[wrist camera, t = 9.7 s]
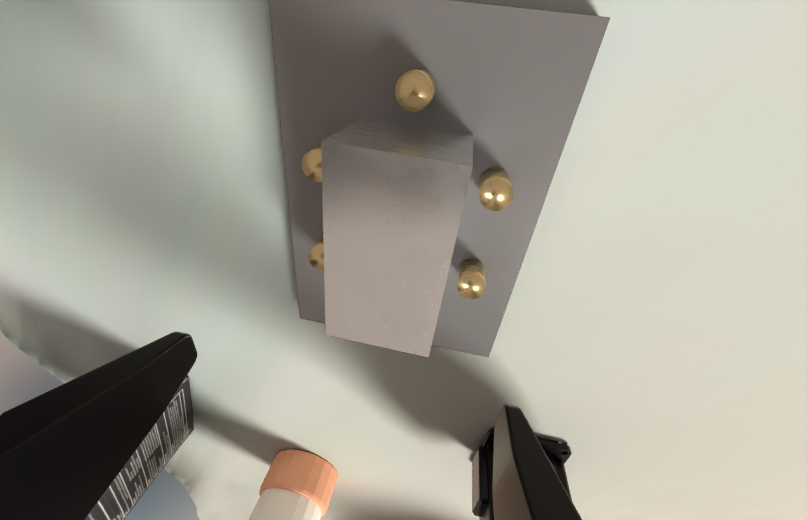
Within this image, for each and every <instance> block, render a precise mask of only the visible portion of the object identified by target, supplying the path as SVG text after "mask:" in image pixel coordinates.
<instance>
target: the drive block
mask: <svg viewBox="0 0 808 520" xmlns="http://www.w3.org/2000/svg"><path fill="white" fill-rule="evenodd" d="M321 156H322V199H323V242H324V284H325V327H326V335H329V336H333V337H338V338H342V339H347V340H351V341H356V342H360V343H365V344H370V345H374V346H379V347H383V348H388V349H392V350H397V351H401V352H406V353H411V354H415V355H420V356H424V357H429V354H430V350H431V345H432V341H433V337H434V332H435V328H436V324H437V319H438V315H439V311H440V306H441V302H442V298H443V293H444V289H445V285H446V280H447V276H448V272H449V267H450V263H451V259H452V254H453V250H454V246H455V241H456V237H457V233H458V228H459V224H460V220H461V215H462V211H463V207H464V202H465V198H466V194H467V189H468V185H469V181H470V177H471V172H472V168H473V134H468V133H462V132H456V131H449V130H443V129H437V128H430V127H424V126H418V125H411V124H405V123H399V122H392V121H386V120H380V119H373V118H367V117H363V118H361V119H359V120H357V121H356V122H354V123H352V124H350V125H349V126H347V127H345V128H343V129H342V130H340V131H338V132H336V133H335V134H333V135H331V136H329V137H328V138H326V139H324V140H322V141H321Z"/></svg>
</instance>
